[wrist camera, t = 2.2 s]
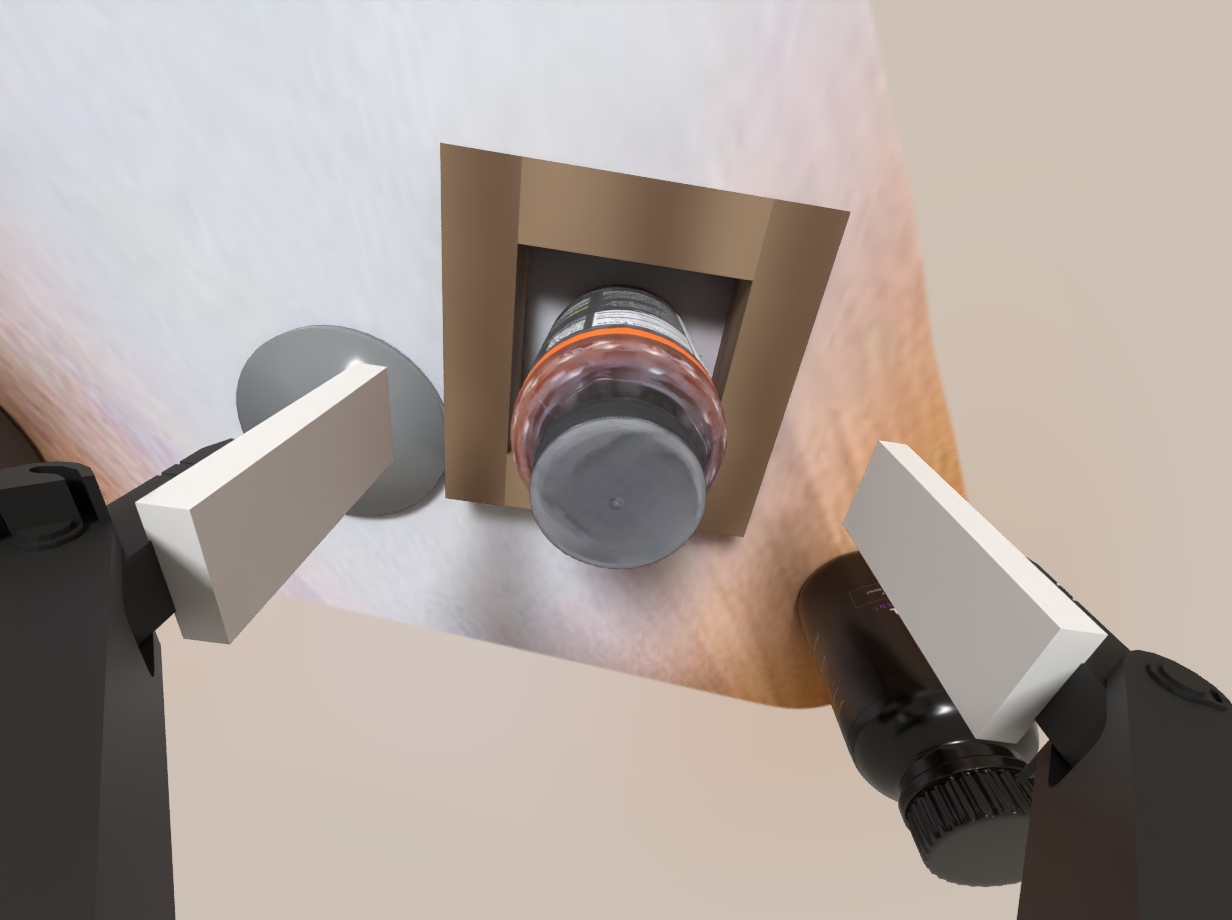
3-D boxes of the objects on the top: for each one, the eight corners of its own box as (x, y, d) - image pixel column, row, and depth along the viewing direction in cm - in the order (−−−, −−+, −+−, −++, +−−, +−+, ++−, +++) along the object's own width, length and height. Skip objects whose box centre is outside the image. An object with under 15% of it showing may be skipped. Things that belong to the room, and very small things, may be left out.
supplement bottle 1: (645, 443, 23) (660, 637, 13) (525, 381, 22) (440, 546, 12) (720, 327, 21) (809, 460, 11) (589, 250, 19) (551, 319, 9)
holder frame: (462, 469, 24) (445, 498, 22) (463, 148, 18) (440, 142, 16) (733, 505, 25) (743, 537, 22) (823, 208, 18) (850, 211, 16)
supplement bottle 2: (910, 524, 25) (1118, 772, 14) (937, 616, 28) (1128, 879, 17) (775, 572, 27) (874, 827, 16) (813, 655, 29) (919, 918, 19)
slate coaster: (265, 496, 25) (257, 503, 24) (225, 309, 21) (215, 312, 20) (451, 520, 25) (448, 527, 25) (450, 342, 21) (445, 346, 21)
